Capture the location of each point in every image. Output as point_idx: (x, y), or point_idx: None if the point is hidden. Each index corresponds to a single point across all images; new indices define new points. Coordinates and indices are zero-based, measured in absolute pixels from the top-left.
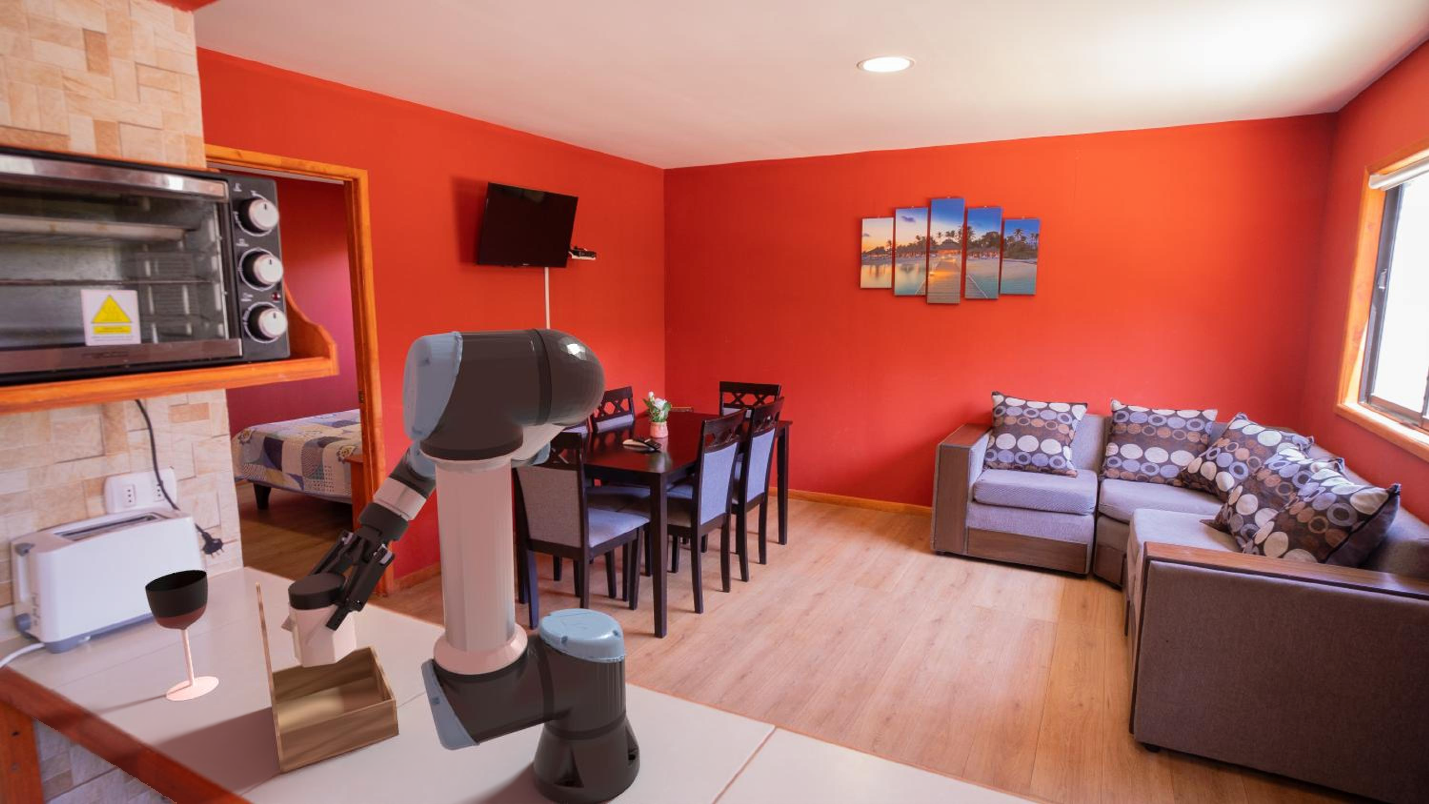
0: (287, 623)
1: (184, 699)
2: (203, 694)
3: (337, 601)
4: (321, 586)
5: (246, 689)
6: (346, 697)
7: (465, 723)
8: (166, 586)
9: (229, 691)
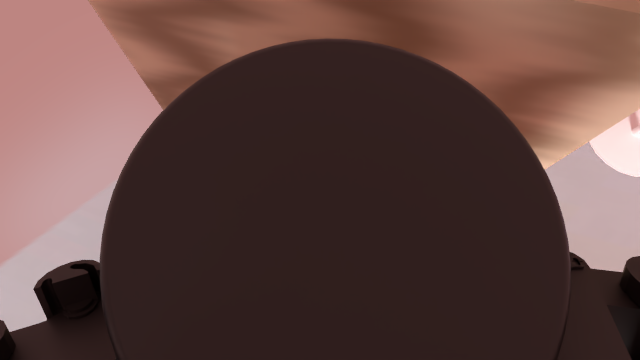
0: None
1: None
2: (590, 143)
3: (52, 281)
4: (229, 222)
5: (560, 205)
6: None
7: None
8: None
9: (573, 180)
